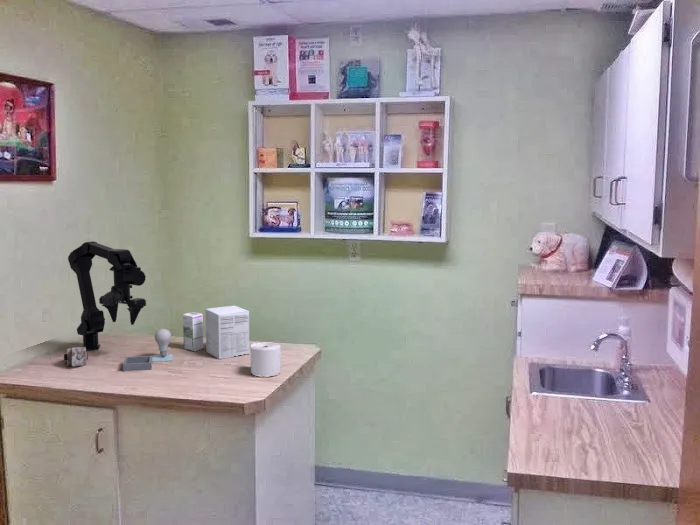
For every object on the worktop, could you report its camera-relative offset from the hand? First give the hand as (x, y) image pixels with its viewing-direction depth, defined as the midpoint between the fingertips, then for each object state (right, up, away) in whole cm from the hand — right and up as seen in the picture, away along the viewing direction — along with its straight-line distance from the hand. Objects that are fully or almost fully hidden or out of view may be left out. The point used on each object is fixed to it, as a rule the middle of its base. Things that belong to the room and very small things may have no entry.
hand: (123, 323), depth 258 cm
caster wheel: (-15, -15, -8) cm, 23 cm away
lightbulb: (+15, -13, 0) cm, 20 cm away
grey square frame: (+9, -15, -11) cm, 21 cm away
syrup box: (+24, -12, +14) cm, 30 cm away
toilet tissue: (+56, -16, -17) cm, 61 cm away
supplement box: (+38, -13, +8) cm, 41 cm away
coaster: (+15, -13, -1) cm, 20 cm away
